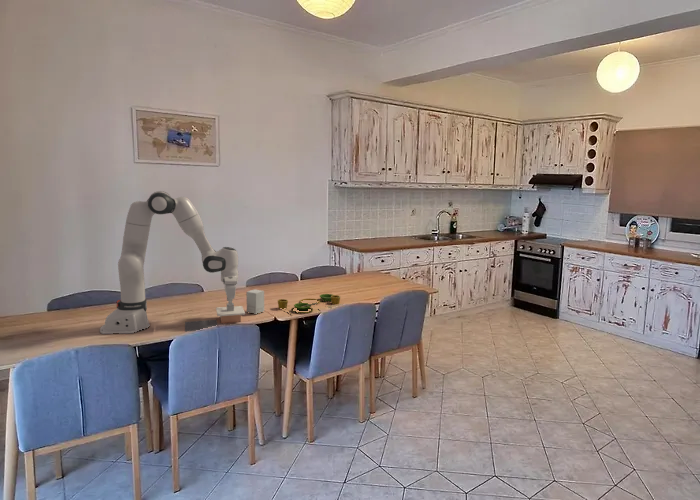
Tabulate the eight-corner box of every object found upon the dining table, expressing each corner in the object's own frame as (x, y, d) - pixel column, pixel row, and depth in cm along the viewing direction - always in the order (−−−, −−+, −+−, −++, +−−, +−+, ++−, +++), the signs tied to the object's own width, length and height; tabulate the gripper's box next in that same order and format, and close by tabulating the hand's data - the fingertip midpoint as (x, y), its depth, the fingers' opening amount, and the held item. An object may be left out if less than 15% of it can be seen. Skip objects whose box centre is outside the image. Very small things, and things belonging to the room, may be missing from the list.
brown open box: (221, 324, 242) (221, 315, 242) (220, 318, 252) (219, 309, 251) (240, 322, 246) (240, 313, 245) (238, 317, 255) (238, 308, 254)
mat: (184, 332, 228) (184, 331, 228) (185, 322, 243) (185, 321, 243) (218, 329, 233) (218, 329, 233) (216, 320, 248) (216, 319, 248)
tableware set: (289, 317, 259) (289, 306, 258) (270, 305, 283) (270, 295, 282) (351, 308, 281) (351, 298, 280) (329, 297, 304) (329, 288, 303)
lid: (217, 316, 239) (217, 308, 239) (215, 309, 252) (215, 301, 252) (245, 314, 244) (245, 306, 243) (242, 307, 257) (242, 299, 256)
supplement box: (264, 312, 266) (264, 290, 264) (255, 315, 260) (255, 293, 258) (255, 310, 270) (254, 289, 268) (246, 313, 264) (246, 291, 262)
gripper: (222, 273, 254) (221, 298, 256) (224, 281, 235) (224, 308, 237) (233, 273, 256) (233, 297, 258) (237, 281, 237) (237, 307, 239)
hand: (229, 303), depth 247 cm, fingers open, 8 cm apart
